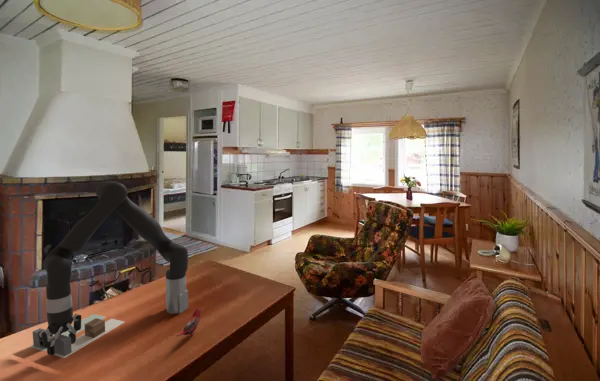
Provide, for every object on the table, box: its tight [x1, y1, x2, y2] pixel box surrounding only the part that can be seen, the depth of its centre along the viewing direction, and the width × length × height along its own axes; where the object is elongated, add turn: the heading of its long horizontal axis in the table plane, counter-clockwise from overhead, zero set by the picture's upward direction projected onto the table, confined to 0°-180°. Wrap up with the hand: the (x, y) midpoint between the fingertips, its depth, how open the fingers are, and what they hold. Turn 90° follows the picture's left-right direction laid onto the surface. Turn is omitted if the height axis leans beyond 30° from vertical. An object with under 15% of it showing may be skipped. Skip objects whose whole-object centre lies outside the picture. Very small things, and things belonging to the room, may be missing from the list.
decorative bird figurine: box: [176, 307, 202, 338], centre depth 126 cm, size 3×18×10 cm, turn 167°
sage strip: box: [29, 313, 107, 352], centre depth 127 cm, size 8×26×7 cm, turn 162°
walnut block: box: [84, 318, 106, 338], centre depth 126 cm, size 5×5×5 cm
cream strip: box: [53, 318, 125, 359], centre depth 124 cm, size 8×26×7 cm, turn 162°
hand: (62, 348), depth 113 cm, fingers open, 6 cm apart
